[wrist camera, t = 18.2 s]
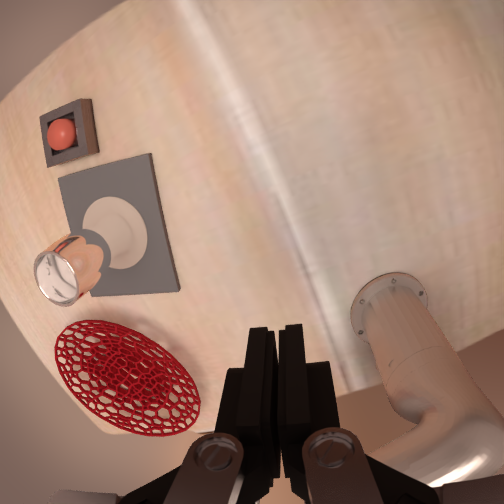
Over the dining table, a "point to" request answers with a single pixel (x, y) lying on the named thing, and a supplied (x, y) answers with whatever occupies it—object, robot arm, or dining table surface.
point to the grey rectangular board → (138, 217)
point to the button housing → (84, 129)
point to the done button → (62, 134)
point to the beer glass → (81, 259)
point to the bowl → (127, 376)
